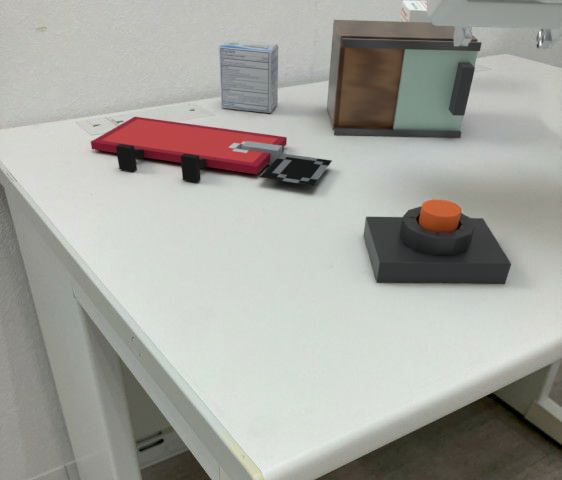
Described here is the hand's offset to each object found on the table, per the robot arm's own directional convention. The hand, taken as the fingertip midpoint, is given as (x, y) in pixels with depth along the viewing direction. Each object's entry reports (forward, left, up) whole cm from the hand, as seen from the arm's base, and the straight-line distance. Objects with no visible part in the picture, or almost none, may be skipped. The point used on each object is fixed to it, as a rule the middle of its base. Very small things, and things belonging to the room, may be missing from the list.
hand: (501, 41), depth 66 cm
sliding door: (+9, -6, -14) cm, 18 cm away
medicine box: (+36, +1, -14) cm, 39 cm away
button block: (-7, +24, -14) cm, 29 cm away
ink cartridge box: (+25, -29, -14) cm, 41 cm away
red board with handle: (+26, +20, -14) cm, 36 cm away
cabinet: (+17, -9, -14) cm, 24 cm away
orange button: (-7, +24, -11) cm, 28 cm away
